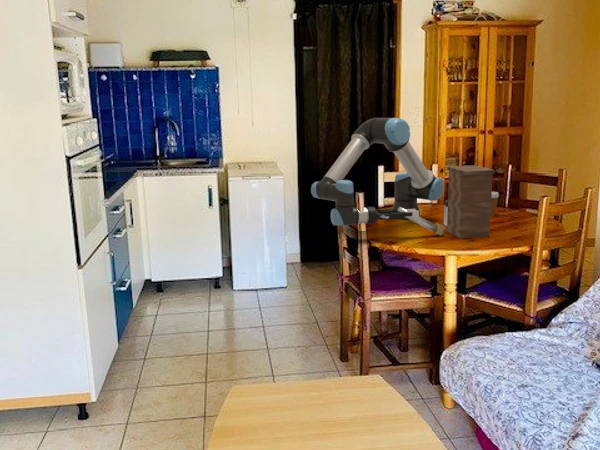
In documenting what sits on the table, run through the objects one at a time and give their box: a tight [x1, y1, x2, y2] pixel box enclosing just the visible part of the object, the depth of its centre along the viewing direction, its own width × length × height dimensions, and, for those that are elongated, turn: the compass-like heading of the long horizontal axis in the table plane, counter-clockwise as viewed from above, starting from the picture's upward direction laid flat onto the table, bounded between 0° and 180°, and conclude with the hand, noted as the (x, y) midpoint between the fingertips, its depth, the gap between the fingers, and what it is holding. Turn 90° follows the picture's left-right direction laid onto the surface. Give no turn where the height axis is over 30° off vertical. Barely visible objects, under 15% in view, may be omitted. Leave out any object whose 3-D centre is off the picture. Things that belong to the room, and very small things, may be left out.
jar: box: [443, 199, 448, 227], centre depth 289 cm, size 9×8×12 cm
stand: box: [446, 164, 496, 239], centre depth 269 cm, size 18×14×30 cm
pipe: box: [397, 207, 447, 237], centre depth 267 cm, size 4×24×4 cm, turn 101°
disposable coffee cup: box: [490, 191, 500, 218], centre depth 309 cm, size 10×10×12 cm
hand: (416, 212), depth 266 cm, fingers closed on pipe, 3 cm apart
